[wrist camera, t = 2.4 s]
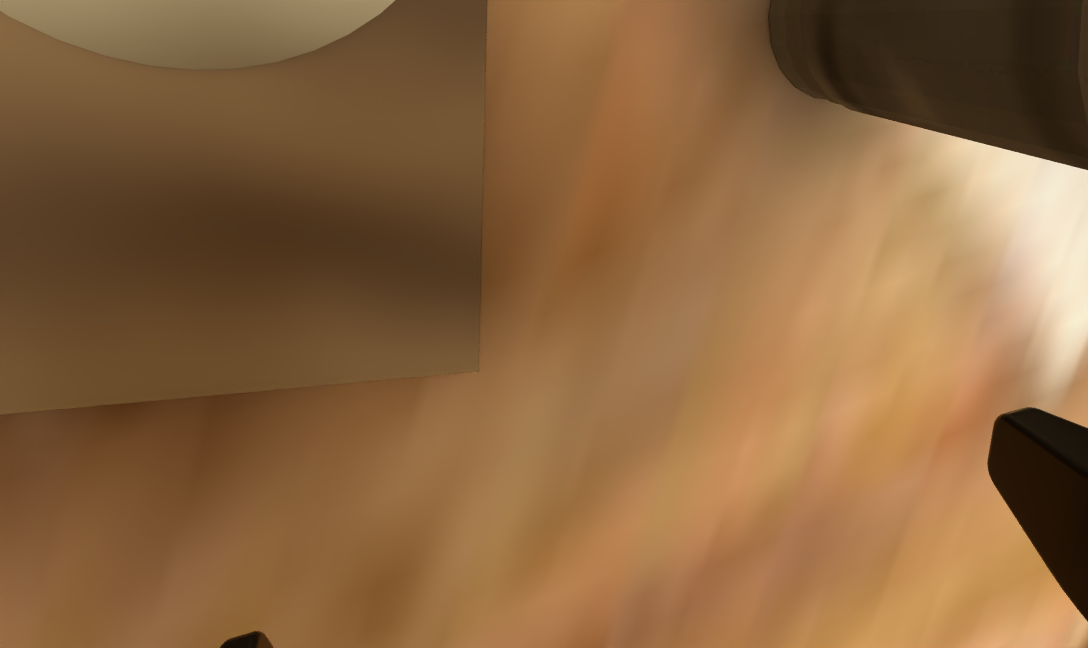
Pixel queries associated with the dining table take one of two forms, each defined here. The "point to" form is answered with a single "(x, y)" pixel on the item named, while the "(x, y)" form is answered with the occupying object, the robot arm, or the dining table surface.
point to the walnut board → (237, 196)
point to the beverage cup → (948, 66)
